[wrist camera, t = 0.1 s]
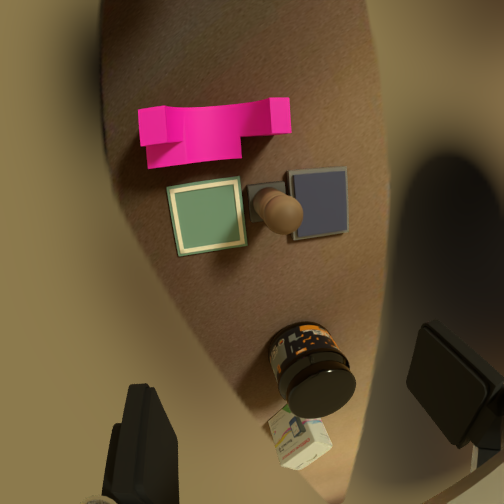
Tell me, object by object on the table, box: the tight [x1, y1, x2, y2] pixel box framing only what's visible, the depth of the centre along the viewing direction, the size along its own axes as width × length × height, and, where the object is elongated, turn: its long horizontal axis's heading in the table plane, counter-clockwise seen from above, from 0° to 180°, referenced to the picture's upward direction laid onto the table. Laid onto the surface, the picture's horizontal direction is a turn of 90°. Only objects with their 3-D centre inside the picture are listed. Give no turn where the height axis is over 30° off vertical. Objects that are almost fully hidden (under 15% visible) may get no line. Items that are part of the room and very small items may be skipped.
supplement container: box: [268, 321, 356, 419], centre depth 41 cm, size 10×10×12 cm
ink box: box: [268, 404, 332, 470], centre depth 47 cm, size 9×5×12 cm, turn 141°
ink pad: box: [287, 166, 349, 240], centre depth 39 cm, size 9×8×2 cm
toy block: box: [138, 98, 291, 169], centre depth 31 cm, size 15×6×8 cm, turn 94°
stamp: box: [246, 181, 303, 235], centre depth 33 cm, size 4×4×10 cm
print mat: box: [167, 176, 248, 256], centre depth 38 cm, size 9×9×1 cm
